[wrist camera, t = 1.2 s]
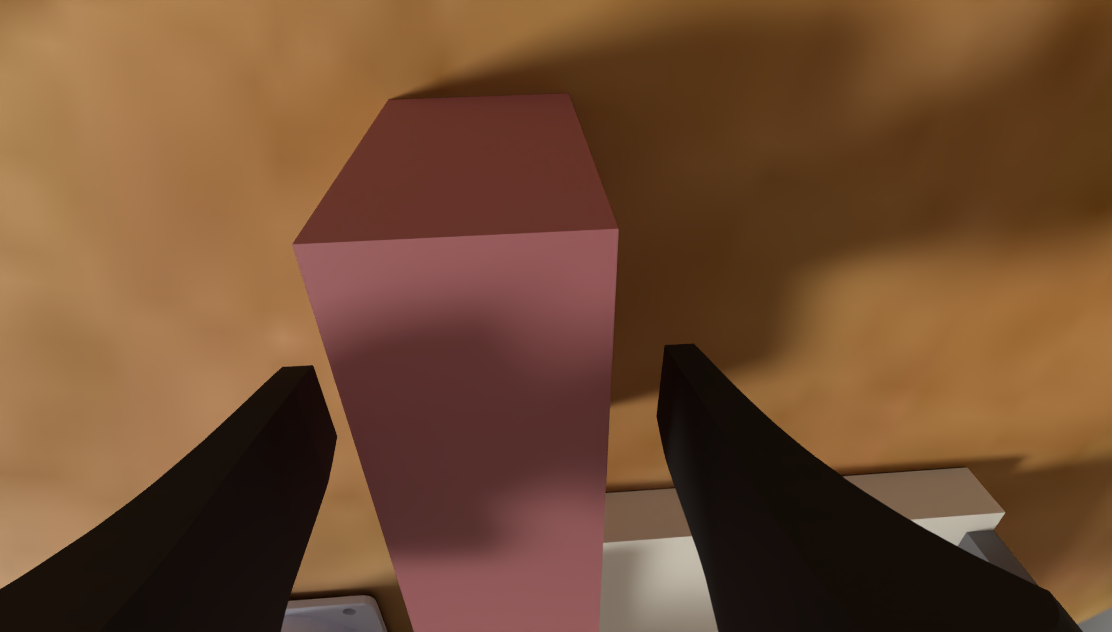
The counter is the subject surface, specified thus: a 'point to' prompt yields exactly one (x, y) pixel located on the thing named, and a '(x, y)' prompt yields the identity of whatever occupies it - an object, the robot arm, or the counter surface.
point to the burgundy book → (475, 353)
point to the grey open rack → (676, 572)
